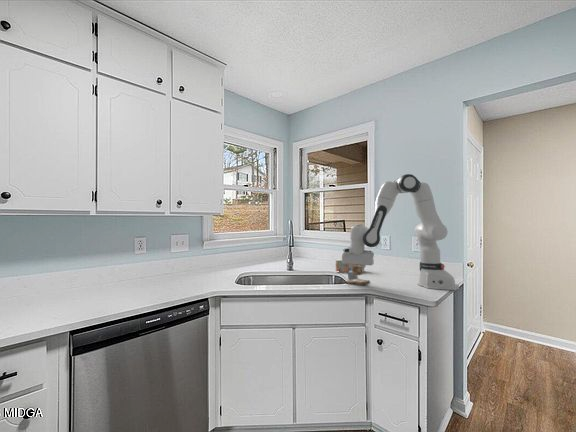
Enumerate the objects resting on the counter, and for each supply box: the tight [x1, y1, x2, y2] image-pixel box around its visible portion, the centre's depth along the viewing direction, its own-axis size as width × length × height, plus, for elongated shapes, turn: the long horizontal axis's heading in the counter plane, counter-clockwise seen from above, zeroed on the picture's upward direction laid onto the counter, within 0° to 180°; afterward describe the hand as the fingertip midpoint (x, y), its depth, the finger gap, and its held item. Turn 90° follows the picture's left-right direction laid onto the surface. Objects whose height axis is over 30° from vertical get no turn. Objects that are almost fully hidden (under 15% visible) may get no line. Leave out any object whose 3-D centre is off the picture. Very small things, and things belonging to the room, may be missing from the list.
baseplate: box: [345, 278, 370, 287], centre depth 191 cm, size 12×11×1 cm
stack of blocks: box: [335, 258, 363, 273], centre depth 232 cm, size 21×6×12 cm, turn 87°
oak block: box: [352, 266, 363, 276], centre depth 191 cm, size 5×5×5 cm
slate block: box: [347, 271, 359, 280], centre depth 204 cm, size 5×5×5 cm
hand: (357, 271), depth 191 cm, fingers closed on oak block, 5 cm apart
